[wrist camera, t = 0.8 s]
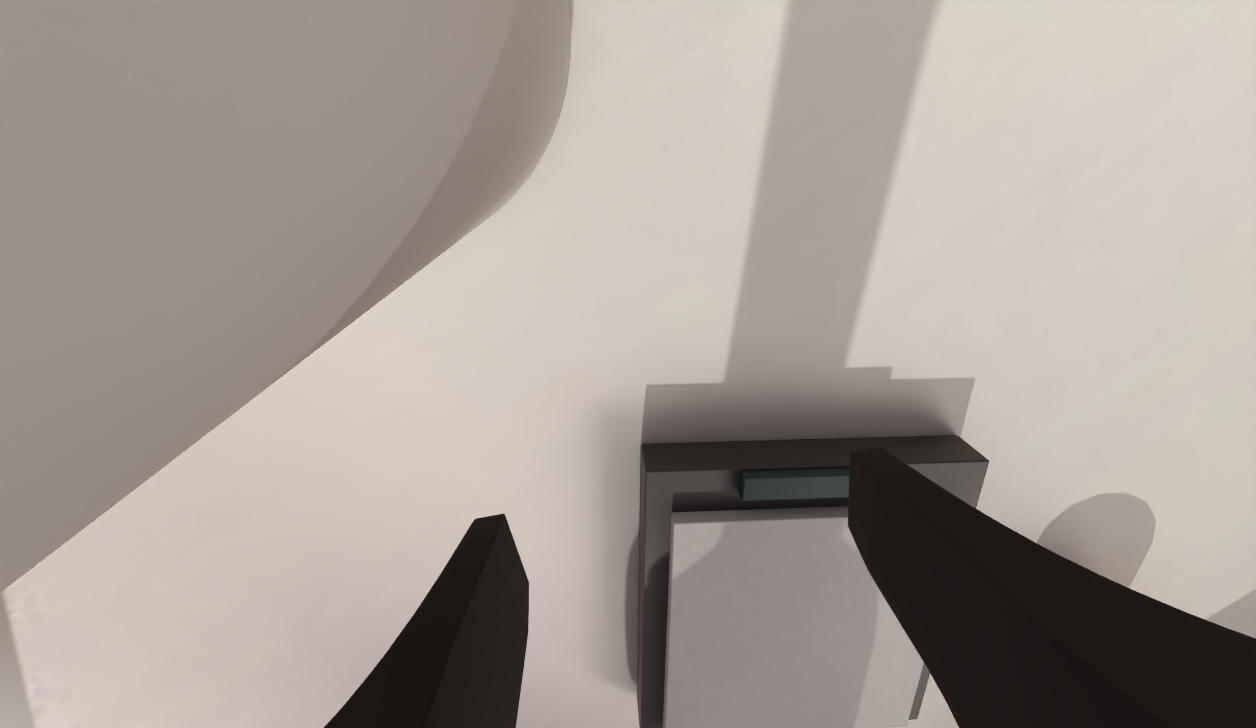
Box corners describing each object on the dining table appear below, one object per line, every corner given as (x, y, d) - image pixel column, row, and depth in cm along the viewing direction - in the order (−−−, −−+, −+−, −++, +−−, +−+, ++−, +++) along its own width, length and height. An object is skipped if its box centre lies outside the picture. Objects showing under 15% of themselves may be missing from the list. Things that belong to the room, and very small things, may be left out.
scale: (896, 681, 28) (925, 734, 26) (636, 696, 27) (641, 752, 25) (957, 434, 23) (1002, 470, 20) (640, 443, 22) (647, 482, 20)
